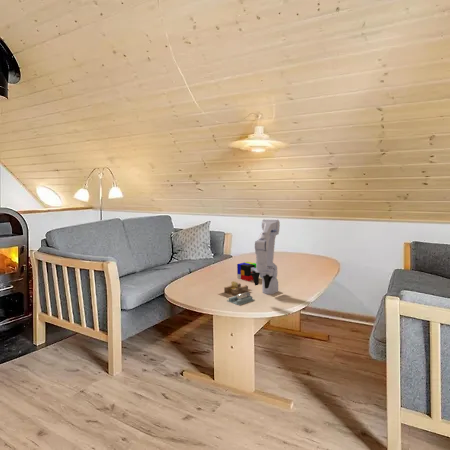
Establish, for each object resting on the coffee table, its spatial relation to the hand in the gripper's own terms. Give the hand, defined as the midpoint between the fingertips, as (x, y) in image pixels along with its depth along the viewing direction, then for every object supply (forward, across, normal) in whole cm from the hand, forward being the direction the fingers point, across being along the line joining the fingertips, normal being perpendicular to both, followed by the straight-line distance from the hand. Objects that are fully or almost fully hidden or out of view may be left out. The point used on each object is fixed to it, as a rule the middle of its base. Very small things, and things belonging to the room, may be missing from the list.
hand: (261, 286), depth 201 cm
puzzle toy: (+10, -41, +29) cm, 51 cm away
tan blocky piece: (+8, -22, 0) cm, 24 cm away
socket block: (+9, -22, +1) cm, 24 cm away
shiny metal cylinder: (+8, -9, -6) cm, 14 cm away
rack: (+9, -9, -7) cm, 15 cm away
